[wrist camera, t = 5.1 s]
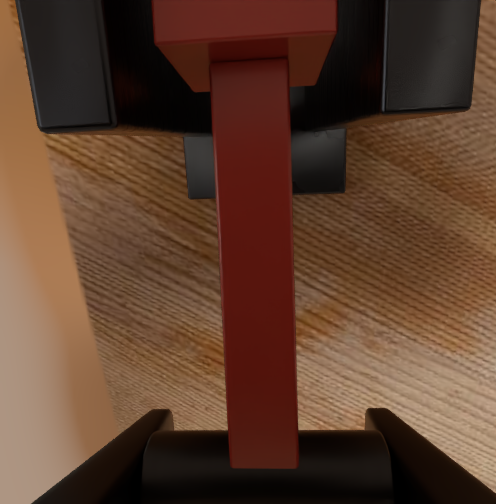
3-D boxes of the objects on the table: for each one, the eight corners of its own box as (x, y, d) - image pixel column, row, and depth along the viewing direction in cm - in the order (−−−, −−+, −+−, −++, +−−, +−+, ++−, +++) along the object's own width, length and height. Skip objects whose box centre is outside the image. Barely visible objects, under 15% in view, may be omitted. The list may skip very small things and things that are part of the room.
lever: (368, 467, 8) (408, 582, 6) (170, 466, 8) (131, 575, 6) (369, -98, 7) (423, -259, 4) (130, -77, 7) (54, -217, 5)
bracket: (340, 189, 16) (496, 304, 5) (193, 195, 17) (31, 314, 5) (344, -73, 14) (652, -977, 3) (172, -58, 14) (-197, -791, 3)
